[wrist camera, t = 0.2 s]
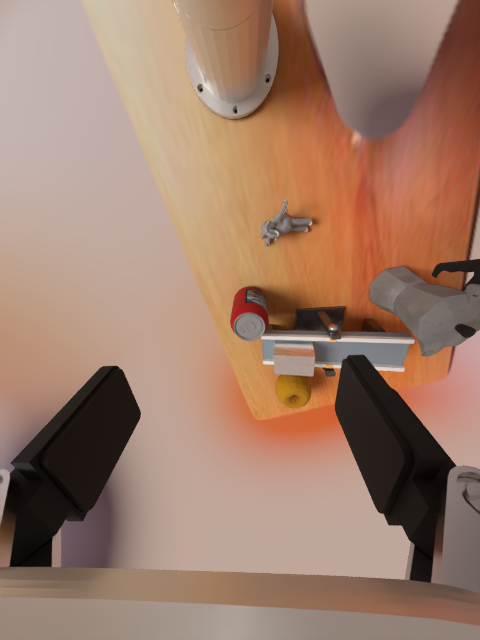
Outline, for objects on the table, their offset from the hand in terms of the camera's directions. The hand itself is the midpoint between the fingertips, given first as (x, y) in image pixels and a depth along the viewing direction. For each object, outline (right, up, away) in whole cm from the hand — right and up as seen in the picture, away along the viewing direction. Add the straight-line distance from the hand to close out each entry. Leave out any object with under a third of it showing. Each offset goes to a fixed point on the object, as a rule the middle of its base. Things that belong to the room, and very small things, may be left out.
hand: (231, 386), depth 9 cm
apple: (+13, -11, +47) cm, 50 cm away
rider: (+11, -3, +33) cm, 35 cm away
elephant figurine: (+8, +21, +30) cm, 38 cm away
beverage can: (+2, +7, +38) cm, 38 cm away
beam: (+18, -2, +33) cm, 38 cm away
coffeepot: (+32, +11, +34) cm, 48 cm away
